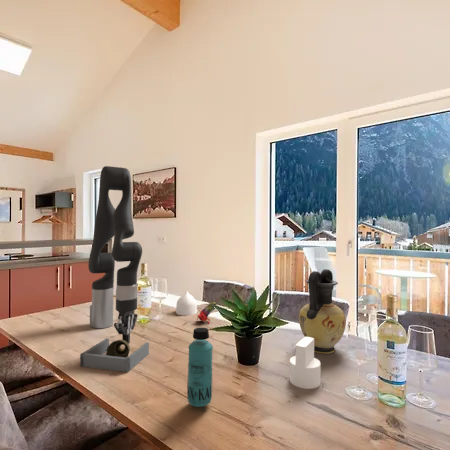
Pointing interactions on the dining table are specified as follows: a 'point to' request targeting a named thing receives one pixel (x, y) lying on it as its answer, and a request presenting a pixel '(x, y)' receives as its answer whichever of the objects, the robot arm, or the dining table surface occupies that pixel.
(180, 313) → the teardrop
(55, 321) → the dining table surface
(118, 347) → the cup
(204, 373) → the beverage bottle
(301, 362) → the cylinder with rectangular tab
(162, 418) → the dining table surface
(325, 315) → the amphora
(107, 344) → the box
